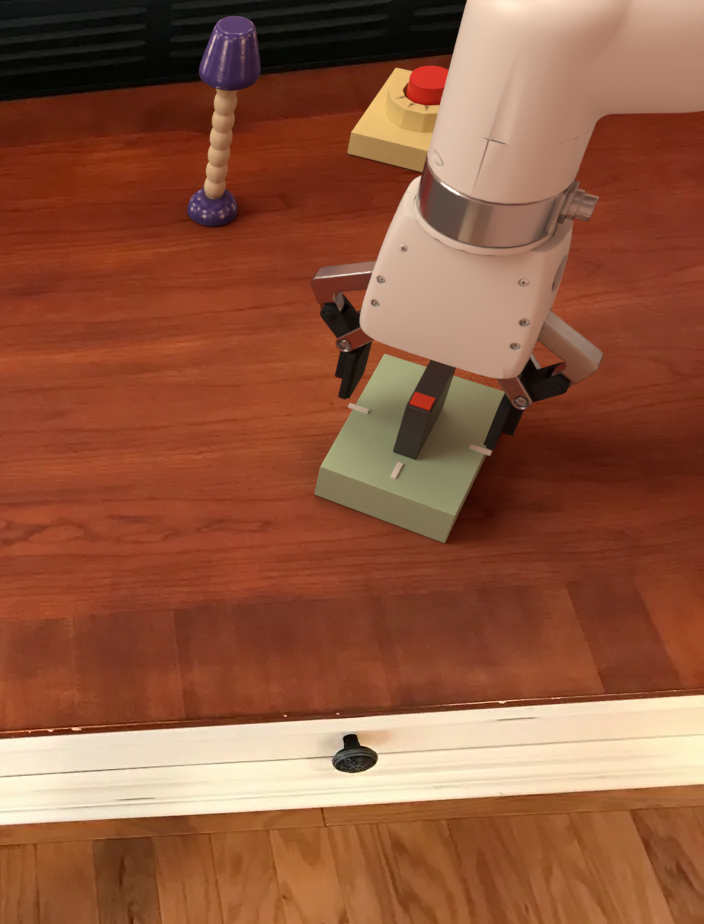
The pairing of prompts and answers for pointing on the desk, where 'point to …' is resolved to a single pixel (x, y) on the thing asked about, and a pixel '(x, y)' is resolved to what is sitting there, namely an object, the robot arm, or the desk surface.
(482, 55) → the robot arm
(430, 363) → the black rectangular block
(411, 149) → the button block
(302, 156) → the desk surface
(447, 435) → the panel
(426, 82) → the button
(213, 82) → the toy lamp
